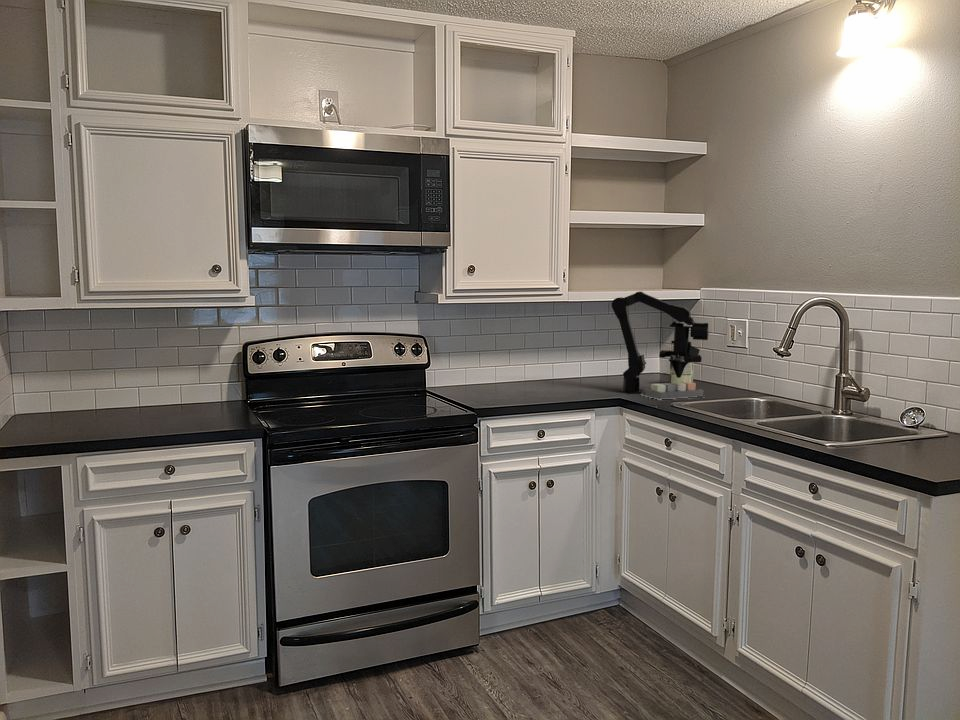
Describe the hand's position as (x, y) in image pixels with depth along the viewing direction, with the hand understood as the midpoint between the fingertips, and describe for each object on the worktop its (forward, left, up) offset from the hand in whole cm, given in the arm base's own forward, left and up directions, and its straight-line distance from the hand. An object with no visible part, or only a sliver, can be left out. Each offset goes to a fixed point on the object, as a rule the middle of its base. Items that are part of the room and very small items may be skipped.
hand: (678, 377), depth 314 cm
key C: (0, 0, -5) cm, 5 cm away
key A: (0, -10, -5) cm, 12 cm away
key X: (0, -5, -5) cm, 7 cm away
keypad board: (0, -2, -8) cm, 8 cm away
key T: (0, +5, -5) cm, 7 cm away
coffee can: (-20, +20, -8) cm, 29 cm away
